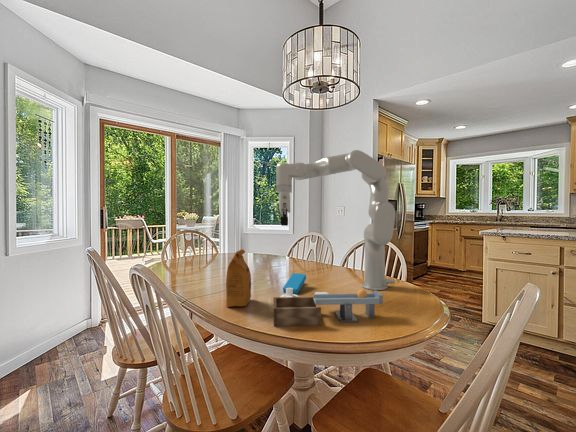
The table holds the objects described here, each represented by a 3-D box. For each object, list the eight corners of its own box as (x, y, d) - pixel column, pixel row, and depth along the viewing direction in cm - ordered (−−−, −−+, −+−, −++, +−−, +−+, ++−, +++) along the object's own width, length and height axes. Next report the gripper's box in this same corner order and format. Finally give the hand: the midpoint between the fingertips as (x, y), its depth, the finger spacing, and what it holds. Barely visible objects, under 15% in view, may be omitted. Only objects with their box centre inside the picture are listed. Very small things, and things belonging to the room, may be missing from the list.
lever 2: (370, 293, 115) (370, 285, 115) (382, 303, 103) (382, 295, 103) (311, 294, 114) (311, 286, 114) (315, 305, 101) (315, 296, 101)
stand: (368, 311, 111) (368, 296, 111) (377, 321, 101) (377, 305, 101) (334, 311, 110) (334, 296, 110) (340, 322, 100) (340, 305, 100)
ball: (365, 297, 107) (365, 288, 107) (368, 300, 104) (368, 290, 104) (355, 297, 107) (355, 288, 107) (358, 300, 104) (358, 291, 103)
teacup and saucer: (291, 302, 122) (291, 292, 122) (276, 299, 126) (276, 289, 126) (301, 296, 130) (301, 287, 129) (286, 293, 134) (286, 285, 134)
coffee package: (254, 298, 125) (254, 248, 125) (246, 309, 113) (246, 253, 112) (232, 298, 127) (232, 248, 126) (222, 308, 114) (222, 252, 114)
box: (315, 312, 110) (315, 296, 110) (320, 325, 98) (320, 307, 98) (273, 313, 109) (273, 297, 109) (273, 326, 97) (273, 308, 97)
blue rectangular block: (298, 302, 133) (308, 282, 149) (296, 289, 131) (307, 270, 147) (284, 301, 136) (296, 281, 152) (282, 288, 134) (295, 269, 150)
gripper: (293, 188, 131) (293, 226, 131) (290, 190, 148) (290, 223, 149) (276, 188, 130) (276, 226, 131) (276, 190, 148) (276, 223, 148)
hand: (284, 224), depth 140 cm, fingers open, 9 cm apart
